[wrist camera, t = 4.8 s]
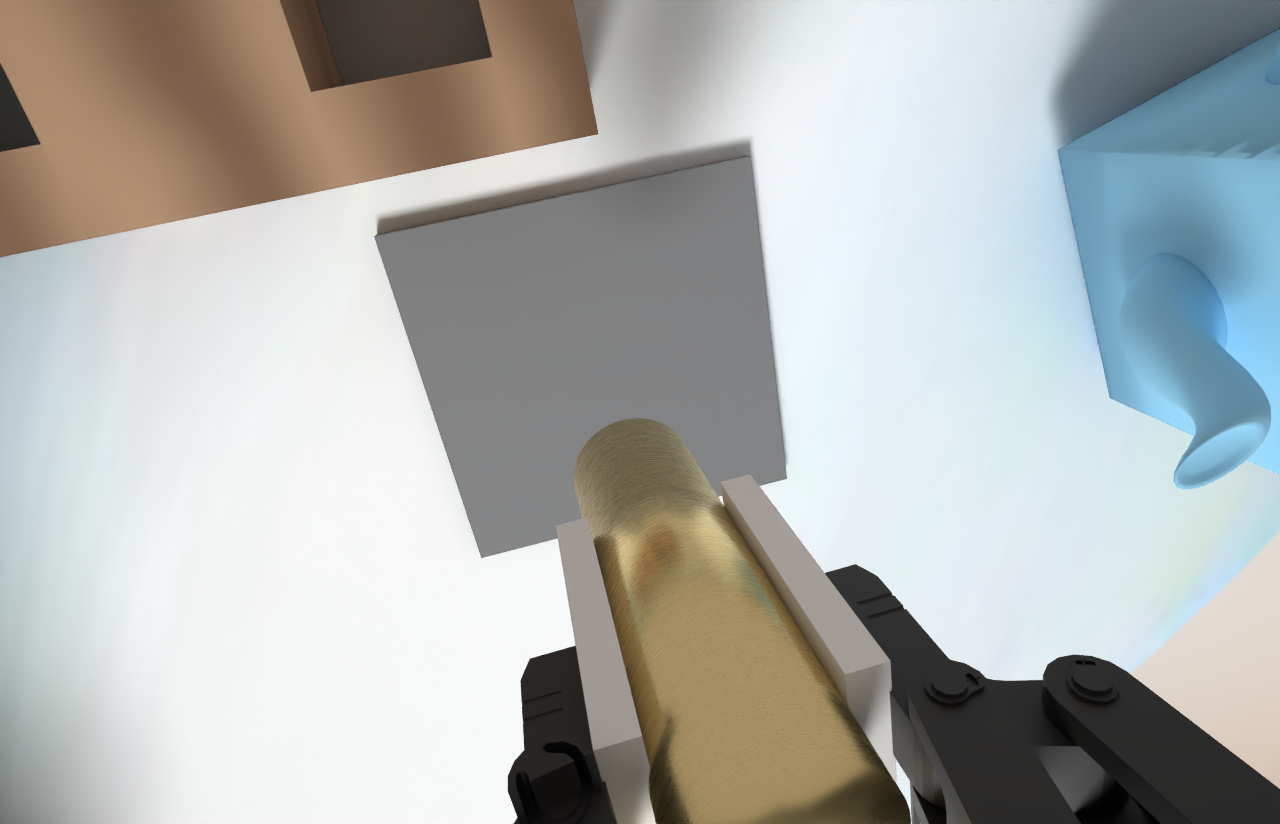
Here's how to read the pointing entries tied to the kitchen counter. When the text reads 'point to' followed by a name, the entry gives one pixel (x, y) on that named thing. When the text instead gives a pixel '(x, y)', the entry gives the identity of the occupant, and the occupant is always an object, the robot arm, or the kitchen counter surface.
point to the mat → (590, 337)
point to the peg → (717, 652)
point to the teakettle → (1190, 258)
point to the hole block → (251, 108)
